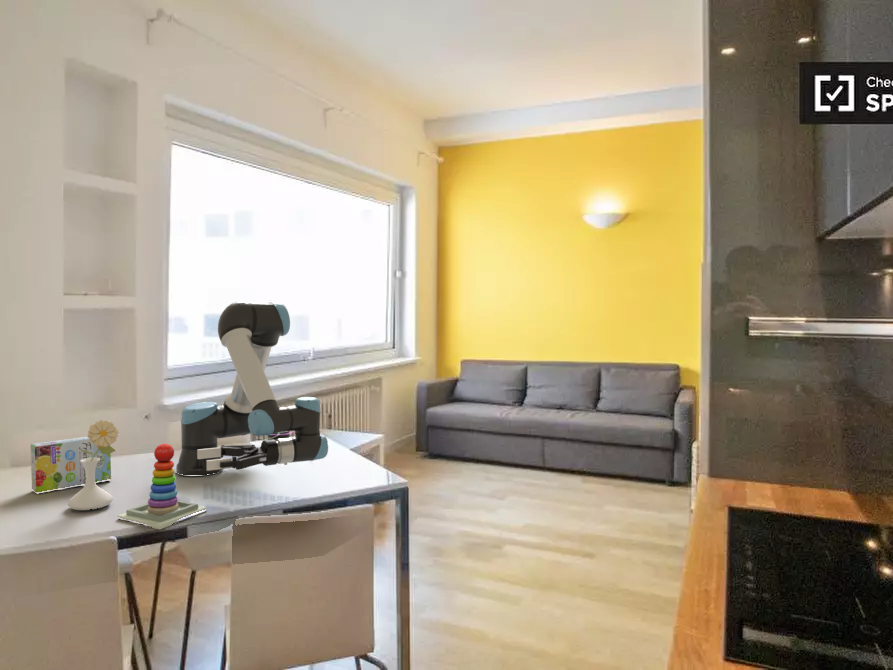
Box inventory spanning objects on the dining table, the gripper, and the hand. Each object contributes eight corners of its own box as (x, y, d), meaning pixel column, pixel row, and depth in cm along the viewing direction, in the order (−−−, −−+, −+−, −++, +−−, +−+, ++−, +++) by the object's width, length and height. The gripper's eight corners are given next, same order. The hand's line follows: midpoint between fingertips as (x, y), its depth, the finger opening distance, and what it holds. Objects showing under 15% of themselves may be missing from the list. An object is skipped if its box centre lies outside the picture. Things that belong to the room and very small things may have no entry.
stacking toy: (167, 517, 174) (166, 448, 173) (140, 514, 176) (140, 446, 175) (184, 507, 182) (184, 442, 181) (159, 505, 184) (158, 440, 182)
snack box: (105, 478, 214) (105, 433, 213) (111, 482, 210) (110, 436, 209) (31, 491, 199) (30, 442, 198) (35, 495, 195) (34, 446, 194)
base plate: (117, 519, 175) (117, 510, 175) (166, 503, 190) (165, 495, 190) (159, 529, 168) (159, 520, 168) (206, 511, 183) (206, 503, 183)
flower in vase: (65, 516, 177) (63, 425, 176) (70, 503, 188) (69, 418, 186) (118, 510, 183) (117, 422, 181) (120, 498, 193) (119, 415, 192)
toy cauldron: (260, 445, 264) (260, 419, 263) (298, 444, 267) (298, 418, 267) (258, 454, 249) (258, 426, 249) (298, 453, 253) (298, 425, 252)
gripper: (289, 474, 184) (211, 484, 173) (264, 454, 205) (194, 462, 194) (289, 448, 184) (211, 456, 173) (264, 431, 205) (194, 437, 194)
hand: (201, 459), depth 184 cm, fingers open, 13 cm apart
